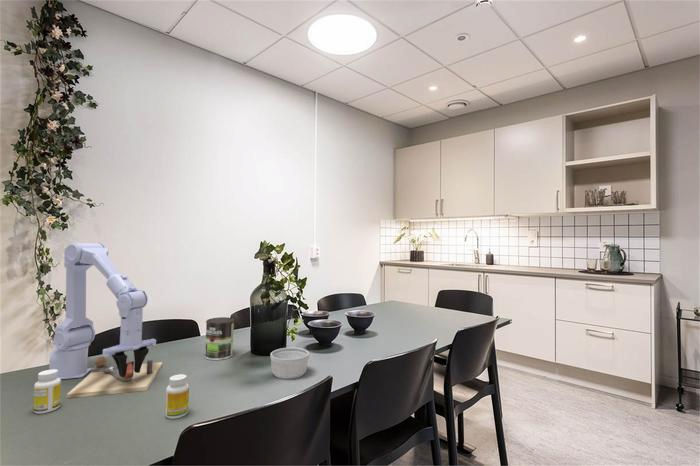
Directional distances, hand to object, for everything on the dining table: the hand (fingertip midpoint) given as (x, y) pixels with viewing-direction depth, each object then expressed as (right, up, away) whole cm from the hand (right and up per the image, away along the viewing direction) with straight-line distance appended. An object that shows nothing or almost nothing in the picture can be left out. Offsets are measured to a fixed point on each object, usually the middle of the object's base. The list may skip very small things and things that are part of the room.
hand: (129, 374), depth 108 cm
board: (-5, -3, +4) cm, 7 cm away
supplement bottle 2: (+23, -4, -18) cm, 29 cm away
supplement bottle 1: (-12, -3, -16) cm, 20 cm away
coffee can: (+17, -5, +29) cm, 34 cm away
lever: (-6, -2, +4) cm, 7 cm away
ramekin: (+48, -5, +12) cm, 49 cm away
